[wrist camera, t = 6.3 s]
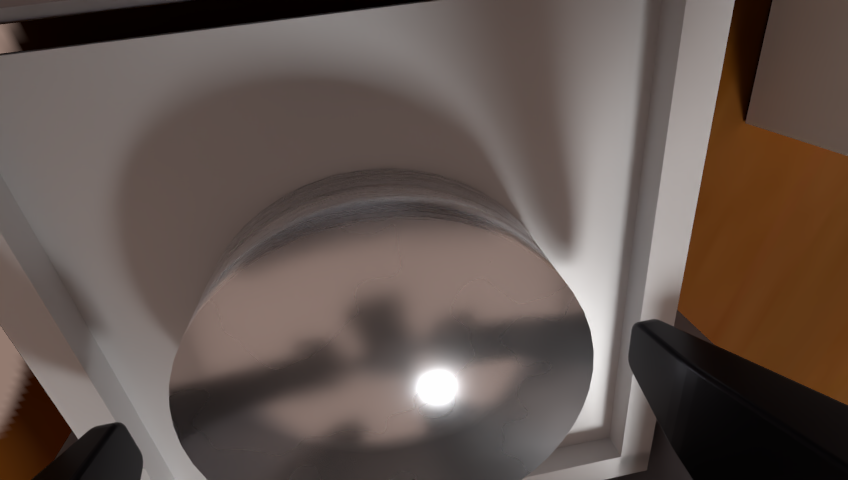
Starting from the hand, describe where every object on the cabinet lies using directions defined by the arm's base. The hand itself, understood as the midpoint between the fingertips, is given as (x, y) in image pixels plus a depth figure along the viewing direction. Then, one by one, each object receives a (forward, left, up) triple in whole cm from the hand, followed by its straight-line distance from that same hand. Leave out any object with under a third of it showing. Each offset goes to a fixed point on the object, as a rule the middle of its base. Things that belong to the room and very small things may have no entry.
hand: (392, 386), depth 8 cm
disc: (0, 0, -2) cm, 2 cm away
